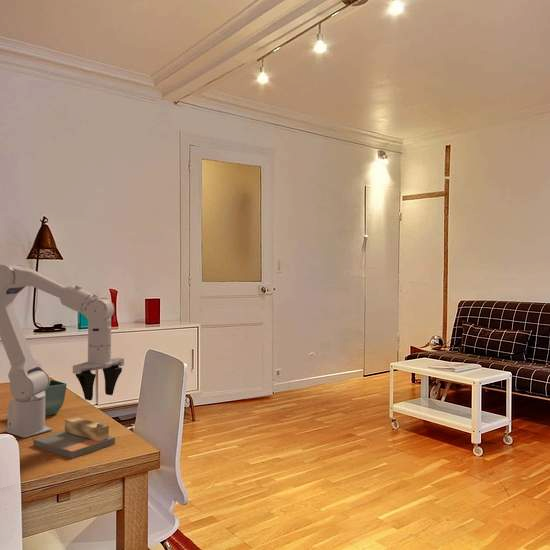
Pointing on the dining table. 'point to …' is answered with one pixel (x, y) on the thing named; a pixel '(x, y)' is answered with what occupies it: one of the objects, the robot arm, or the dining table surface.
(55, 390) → the flower pot
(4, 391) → the dining table surface
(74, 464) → the dining table surface
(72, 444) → the grey rectangular frame
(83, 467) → the dining table surface
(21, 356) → the robot arm
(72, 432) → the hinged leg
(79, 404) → the dining table surface
